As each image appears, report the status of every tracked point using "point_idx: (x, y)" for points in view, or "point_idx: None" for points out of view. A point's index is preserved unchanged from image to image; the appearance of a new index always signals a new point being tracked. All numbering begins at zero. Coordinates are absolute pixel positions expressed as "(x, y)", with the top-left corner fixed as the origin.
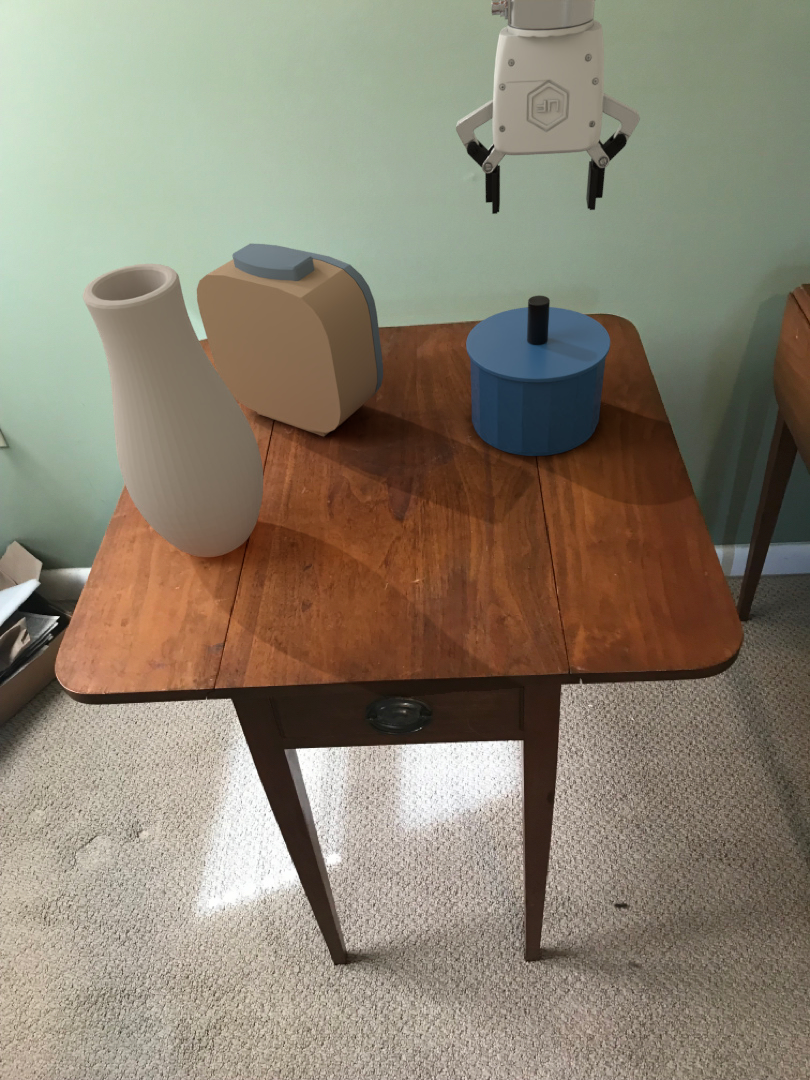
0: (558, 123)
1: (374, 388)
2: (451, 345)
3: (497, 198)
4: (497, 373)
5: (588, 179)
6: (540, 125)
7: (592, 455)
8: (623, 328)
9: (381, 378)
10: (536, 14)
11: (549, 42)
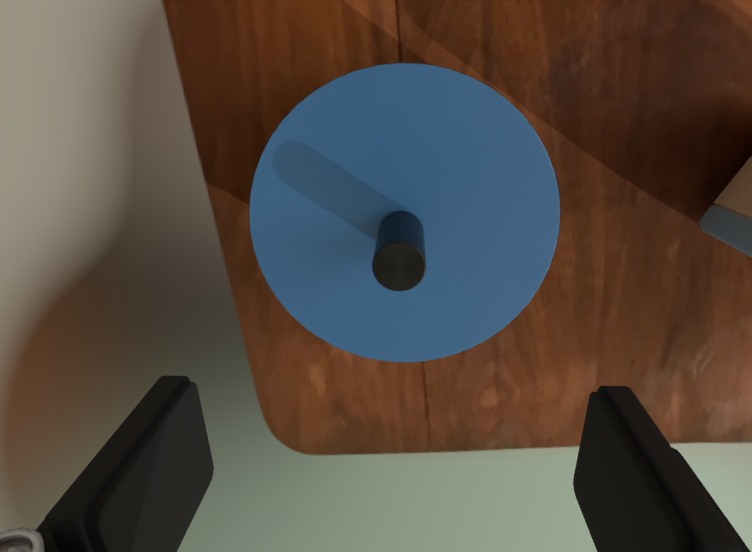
0: None
1: (721, 198)
2: (535, 392)
3: (628, 434)
4: (494, 90)
5: (167, 524)
6: None
7: (306, 79)
8: (268, 420)
9: (710, 218)
10: None
11: None
